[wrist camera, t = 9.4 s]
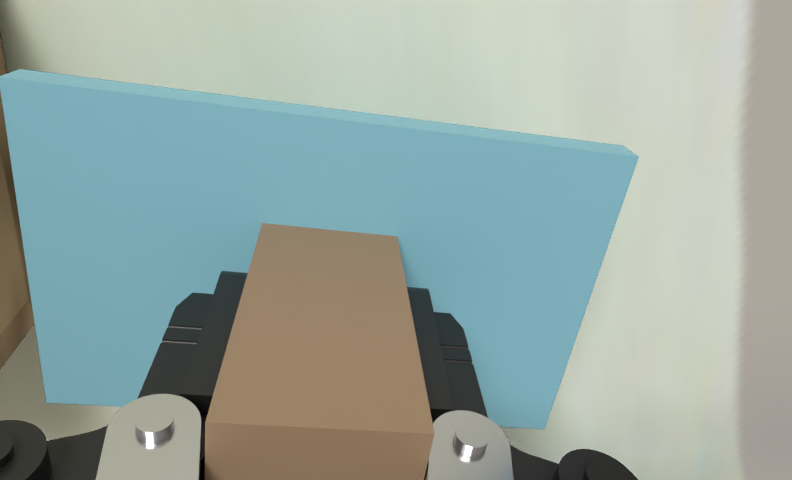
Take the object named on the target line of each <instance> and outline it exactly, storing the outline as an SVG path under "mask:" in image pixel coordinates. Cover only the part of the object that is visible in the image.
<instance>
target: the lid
mask: <svg viewBox="0 0 792 480" xmlns="http://www.w3.org/2000/svg"><path fill="white" fill-rule="evenodd" d="M0 91H1V98H2V104H3V111H4V118H5V125H6V132H7V139H8V145H9V152H10V159H11V166H12V173H13V179H14V186H15V193H16V200H17V207H18V214H19V220H20V227H21V234H22V241H23V248H24V255H25V261H26V268H27V275H28V282H29V289H30V295H31V302H32V309H33V316H34V323H35V330H36V336H37V343H38V350H39V357H40V364H41V371H42V377H43V384H44V391H45V398H46V403H62V404H81V405H100V406H119V407H123V406H125V405H126V404H128V403H130V402H132V401H134V400H136V399H137V398H138V396H139V393H140V391H141V389H142V386H143V384H144V381H145V379H146V377H147V374H148V372H149V369H150V367H151V365H152V362H153V360H154V357H155V355H156V353H157V350H158V348H159V346H160V343H162V338H163V336H164V334H165V331H166V329H167V328H168V324H169V322H170V319H171V317H172V314H173V312H174V310H175V307H176V306H177V305H178V304H180V303H181V302H182V301H183V300H184V299H185V298H187V297H188V296H189V295H190V294H191V293H206V294H214V291H215V288H216V285H217V282H218V279H219V276H220V273H221V271H231V272H243V273H248V274H247V278H246V281H245V285H244V288H243V292H242V295H241V299H240V302H239V306H238V309H237V313H236V316H235V320H234V323H233V327H232V330H231V334H230V337H229V341H228V344H227V348H226V351H225V355H224V358H223V362H222V365H221V369H220V372H219V376H218V379H217V383H216V386H215V390H214V393H213V397H212V400H211V404H210V407H209V411H208V414H207V418H206V421H205V480H424V477H425V472H426V468H427V464H428V460H429V456H430V451H431V447H432V443H433V439H434V435H435V433H434V428H433V423H432V417H431V412H430V407H429V402H428V396H427V391H426V386H425V380H424V375H423V370H422V365H421V359H420V354H419V349H418V343H417V338H416V333H415V328H414V322H413V317H412V312H411V307H410V301H409V296H408V291H407V287H416V288H428V289H429V292H430V297H431V301H432V306H433V311H434V312H441V313H451V315H452V316H453V317H454V318H455V319H456V321H457V322H458V323H459V324H460V325H461V326H462V328H463V329H464V332H465V335H466V339H467V343H468V350H470V354H471V357H472V364H473V365H474V368H475V372H476V375H477V379H478V383H479V386H480V390H481V394H482V397H483V401H484V405H485V408H486V412H487V415H488V418H489V419H490V420H492V421H493V422H495V423H496V424H497V425H498V426H499V427H513V428H531V429H545V426H546V423H547V420H548V417H549V414H550V411H551V409H552V406H553V403H554V400H555V397H556V394H557V391H558V388H559V385H560V383H561V380H562V377H563V374H564V371H565V368H566V365H567V362H568V359H569V357H570V354H571V351H572V348H573V345H574V342H575V339H576V336H577V333H578V331H579V328H580V325H581V322H582V319H583V316H584V313H585V310H586V307H587V305H588V302H589V299H590V296H591V293H592V290H593V287H594V284H595V281H596V279H597V276H598V273H599V270H600V267H601V264H602V261H603V258H604V255H605V253H606V250H607V247H608V244H609V241H610V238H611V235H612V232H613V230H614V227H615V224H616V221H617V218H618V215H619V212H620V209H621V206H622V204H623V201H624V198H625V195H626V192H627V189H628V186H629V183H630V180H631V178H632V175H633V172H634V169H635V166H636V163H637V160H638V156H637V155H635V154H634V153H633V152H631V151H630V150H628V149H627V148H626V147H624V146H622V145H614V144H606V143H598V142H590V141H582V140H575V139H567V138H559V137H551V136H543V135H535V134H527V133H520V132H512V131H504V130H496V129H488V128H480V127H472V126H465V125H457V124H449V123H441V122H433V121H425V120H417V119H410V118H402V117H394V116H386V115H378V114H370V113H362V112H354V111H347V110H339V109H331V108H323V107H315V106H307V105H299V104H292V103H284V102H276V101H268V100H260V99H252V98H244V97H237V96H229V95H221V94H213V93H205V92H197V91H189V90H182V89H174V88H166V87H158V86H150V85H142V84H134V83H126V82H119V81H111V80H103V79H95V78H87V77H79V76H71V75H64V74H56V73H48V72H40V71H32V70H24V69H18V70H15V71H12V72H10V73H7V74H5V75H2V76H0Z"/></svg>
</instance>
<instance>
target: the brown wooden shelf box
mask: <svg viewBox="0 0 792 480" xmlns="http://www.w3.org/2000/svg"><path fill="white" fill-rule="evenodd" d="M5 74H7V71H6V65H5V59H4V53H3V48H2V42H1V36H0V76H2V75H5ZM33 324H34V316H33V309H32V302H31V295H30V289H29V282H28V275H27V268H26V261H25V255H24V248H23V241H22V234H21V227H20V220H19V214H18V207H17V200H16V193H15V186H14V179H13V173H12V166H11V159H10V152H9V145H8V139H7V132H6V125H5V118H4V111H3V104H2V98H1V91H0V369H1V368H2V366H3V365H4V364H5V362H6V361H7V360H8V358H9V357H10V356H11V354H12V353H13V351H14V350H15V349H16V347H17V346H18V345H19V343H20V342H21V341H22V339H23V338H24V337H25V335H26V334H27V332H28V331H29V330H30V328H31V327H32V326H33Z"/></svg>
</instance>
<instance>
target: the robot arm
mask: <svg viewBox="0 0 792 480" xmlns="http://www.w3.org/2000/svg"><path fill="white" fill-rule="evenodd" d="M247 274H248V273H243V272H231V271H221V273H220V276H219V279H218V282H217V285H216V288H215V291H214V294H206V293H191V294H190V295H189V296H188V297H187V298H185V299H184V300H183V301H182V302H181V303H180V304H178V305H177V306H176V307H175V310H174V312H173V314H172V317H171V319H170V322H169V324H168V328H167V329H166V331H165V334H164V336H163V338H162V343H160V346H159V348H158V350H157V353H156V355H155V357H154V360H153V362H152V365H151V367H150V369H149V372H148V374H147V377H146V379H145V381H144V384H143V386H142V389H141V391H140V393H139V396H138V398H137V399H136V400H134V401H132V402H130V403H128V404H126V405H125V406H123V407H122V408H121V409H120V410H119V411H117V412H116V414H115V415H114V416H113V417H112V419H111V420H110V422H109V424H108V425H107V426H105V427H103V428H101V429H98V430H95V431H92V432H88V433H84V434H80V435H75V436H70V437H65V438H60V439H55V440H50V441H46V437H45V435H44V433H43V432H42V431H41V430H40V429H39V428H38V427H36V426H35V425H33V424H30V423H28V422H24V421H18V420H5V421H0V480H205V421H206V418H207V414H208V411H209V407H210V404H211V400H212V397H213V393H214V390H215V386H216V383H217V379H218V376H219V372H220V369H221V365H222V362H223V358H224V355H225V351H226V348H227V344H228V341H229V337H230V334H231V330H232V327H233V323H234V320H235V316H236V313H237V309H238V306H239V302H240V299H241V295H242V292H243V288H244V285H245V281H246V278H247ZM407 291H408V296H409V301H410V307H411V312H412V317H413V322H414V328H415V333H416V338H417V343H418V349H419V354H420V359H421V365H422V370H423V375H424V380H425V386H426V391H427V396H428V402H429V407H430V412H431V417H432V423H433V428H434V433H435V435H434V439H433V443H432V447H431V451H430V456H429V460H428V464H427V468H426V472H425V477H424V480H638V479H637V478H636V477H635V476H634V475H633V474H632V473H631V472H630V471H629V470H628V469H627V468H626V467H625V466H624V465H623V464H621V463H620V462H619V461H617V460H616V459H614V458H612V457H611V456H608V455H606V454H604V453H601V452H598V451H595V450H590V449H578V450H574V451H571V452H569V453H567V454H566V455H565V456H564V457H563V458H562V459H561V461H560V463H559V464H557V463H554V462H551V461H548V460H545V459H542V458H539V457H535V456H532V455H529V454H527V453H524V452H522V451H520V450H518V449H516V448H514V447H513V446H511V445H510V444H509V441H508V438H507V436H506V435H505V433H504V432H503V430H502V429H501V428H500V427H499V426H498V425H497V424H496V423H495V422H493V421H492V420H490V419H489V418H488V415H487V412H486V408H485V405H484V401H483V397H482V394H481V390H480V386H479V383H478V379H477V375H476V372H475V368H474V365H473V364H472V357H471V354H470V350H468V343H467V339H466V335H465V332H464V329H463V328H462V326H461V325H460V324H459V323H458V322H457V321H456V319H455V318H454V317H453V316H452V315H451V313H441V312H434V311H433V306H432V301H431V297H430V292H429V289H428V288H416V287H407Z"/></svg>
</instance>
